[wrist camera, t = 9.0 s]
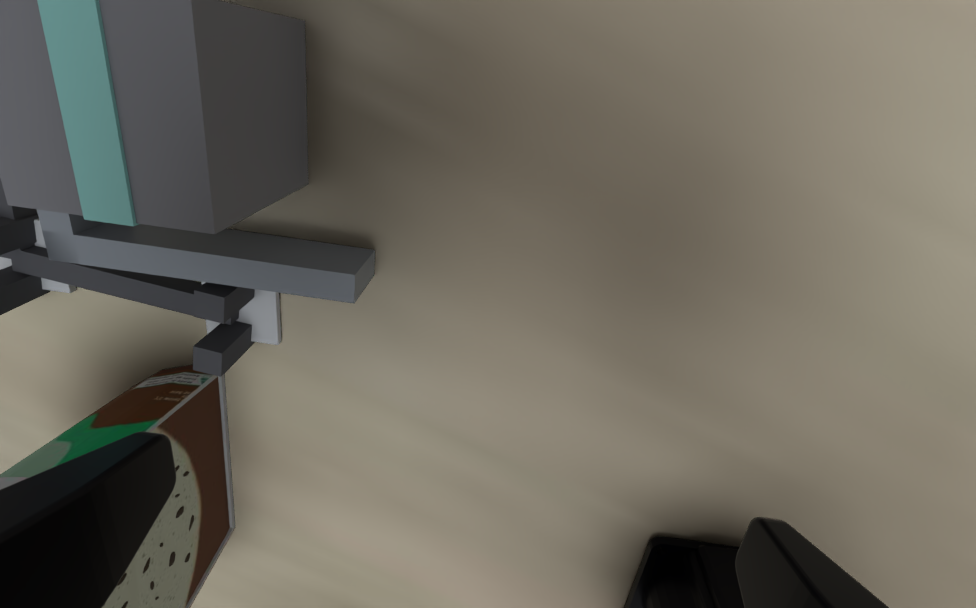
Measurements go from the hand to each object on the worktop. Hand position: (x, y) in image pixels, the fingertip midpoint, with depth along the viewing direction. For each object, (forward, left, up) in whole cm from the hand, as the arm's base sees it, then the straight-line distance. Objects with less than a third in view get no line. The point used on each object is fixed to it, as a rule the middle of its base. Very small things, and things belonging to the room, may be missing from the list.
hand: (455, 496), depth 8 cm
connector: (+4, +9, -12) cm, 15 cm away
